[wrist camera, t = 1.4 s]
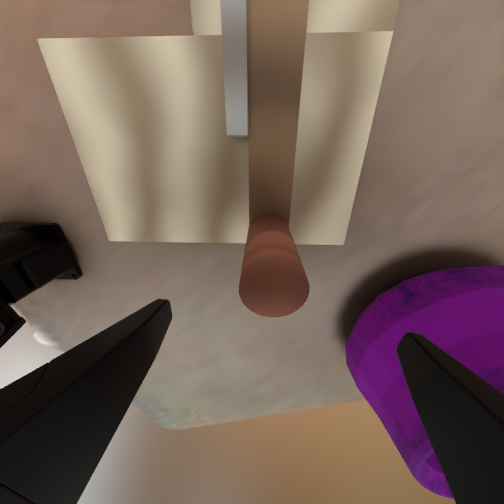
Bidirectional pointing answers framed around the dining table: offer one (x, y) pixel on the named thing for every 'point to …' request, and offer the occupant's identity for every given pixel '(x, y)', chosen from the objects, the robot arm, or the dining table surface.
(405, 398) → the decorative plant
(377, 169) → the dining table surface
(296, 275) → the lever
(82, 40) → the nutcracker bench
